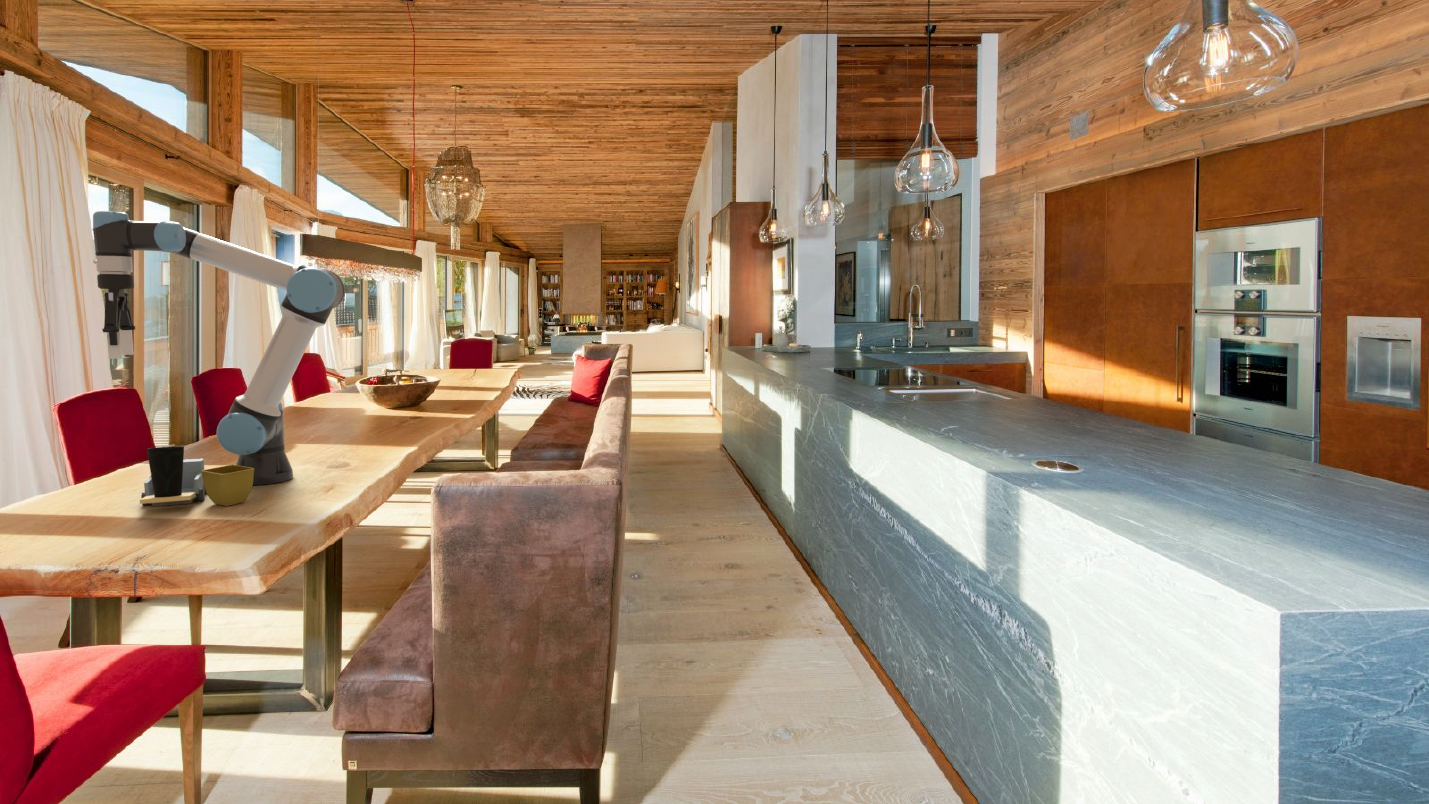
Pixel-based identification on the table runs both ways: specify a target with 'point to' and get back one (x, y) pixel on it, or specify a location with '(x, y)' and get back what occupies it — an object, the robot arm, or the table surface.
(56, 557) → the table surface
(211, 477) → the flower pot
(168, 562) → the table surface
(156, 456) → the cup
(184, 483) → the truck
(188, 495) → the panel
